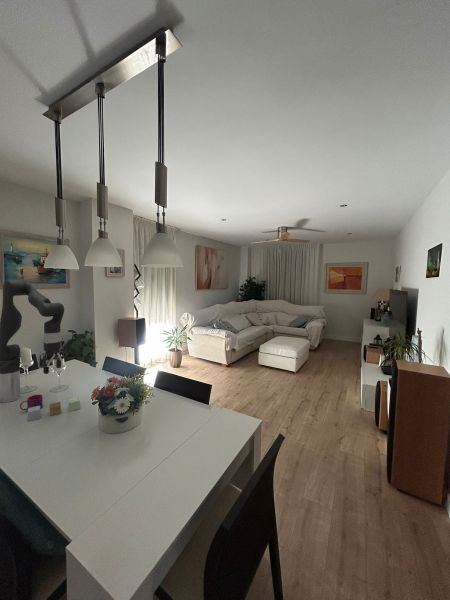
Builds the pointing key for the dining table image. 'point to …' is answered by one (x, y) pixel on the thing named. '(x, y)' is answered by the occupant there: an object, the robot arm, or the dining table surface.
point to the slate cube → (33, 413)
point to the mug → (33, 401)
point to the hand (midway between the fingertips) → (52, 370)
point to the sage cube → (74, 404)
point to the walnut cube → (55, 408)
